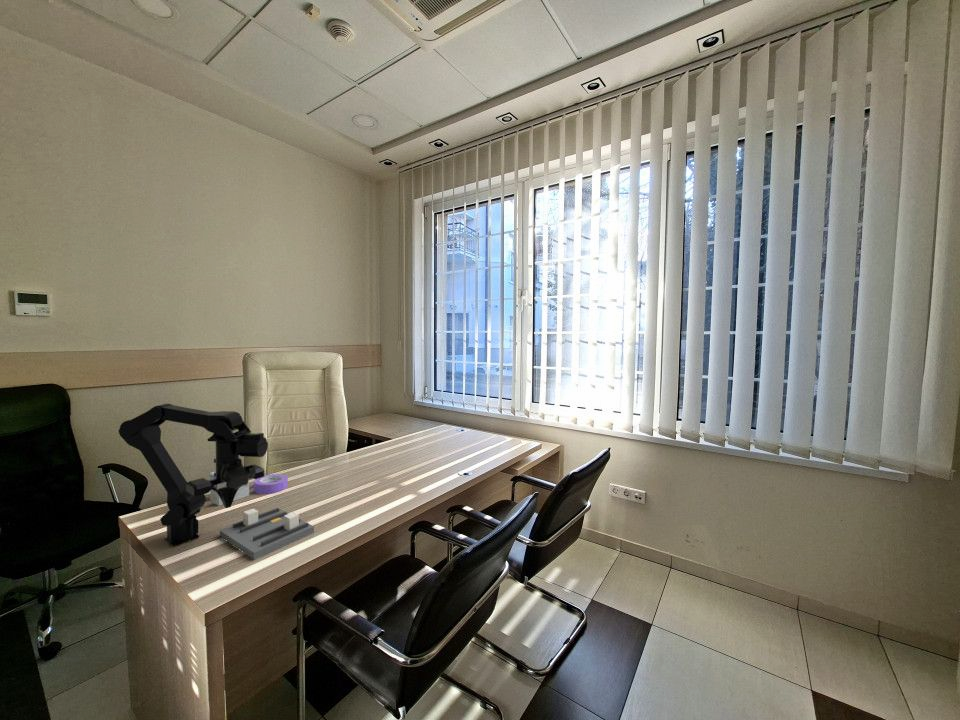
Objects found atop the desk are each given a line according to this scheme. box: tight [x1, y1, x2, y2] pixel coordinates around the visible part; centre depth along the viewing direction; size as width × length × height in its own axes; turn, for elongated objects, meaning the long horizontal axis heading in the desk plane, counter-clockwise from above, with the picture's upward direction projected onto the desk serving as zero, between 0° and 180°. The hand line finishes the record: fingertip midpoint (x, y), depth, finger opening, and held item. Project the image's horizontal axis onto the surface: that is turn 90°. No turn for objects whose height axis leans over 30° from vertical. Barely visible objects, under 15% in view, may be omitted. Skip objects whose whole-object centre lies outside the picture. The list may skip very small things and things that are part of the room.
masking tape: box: [253, 473, 289, 495], centre depth 150 cm, size 12×12×4 cm
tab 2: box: [284, 511, 300, 530], centre depth 117 cm, size 3×3×4 cm
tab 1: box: [242, 508, 259, 526], centre depth 118 cm, size 3×3×4 cm
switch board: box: [219, 507, 315, 561], centre depth 117 cm, size 18×20×3 cm
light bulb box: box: [209, 466, 250, 507], centre depth 139 cm, size 11×7×11 cm, turn 149°
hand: (227, 507), depth 112 cm, fingers closed
